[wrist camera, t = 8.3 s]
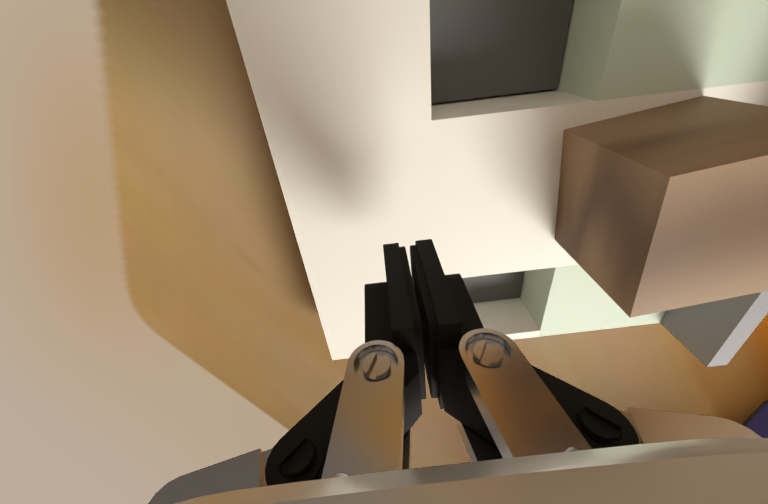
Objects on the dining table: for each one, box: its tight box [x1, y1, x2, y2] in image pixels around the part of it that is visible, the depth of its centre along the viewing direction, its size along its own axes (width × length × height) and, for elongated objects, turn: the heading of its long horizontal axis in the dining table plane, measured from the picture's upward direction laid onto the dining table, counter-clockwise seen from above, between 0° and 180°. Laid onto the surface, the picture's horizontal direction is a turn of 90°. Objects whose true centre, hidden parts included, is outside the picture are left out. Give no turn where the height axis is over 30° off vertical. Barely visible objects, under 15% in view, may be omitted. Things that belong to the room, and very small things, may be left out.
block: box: [555, 96, 768, 318], centre depth 11 cm, size 5×5×5 cm
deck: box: [226, 0, 768, 367], centre depth 14 cm, size 20×18×6 cm
